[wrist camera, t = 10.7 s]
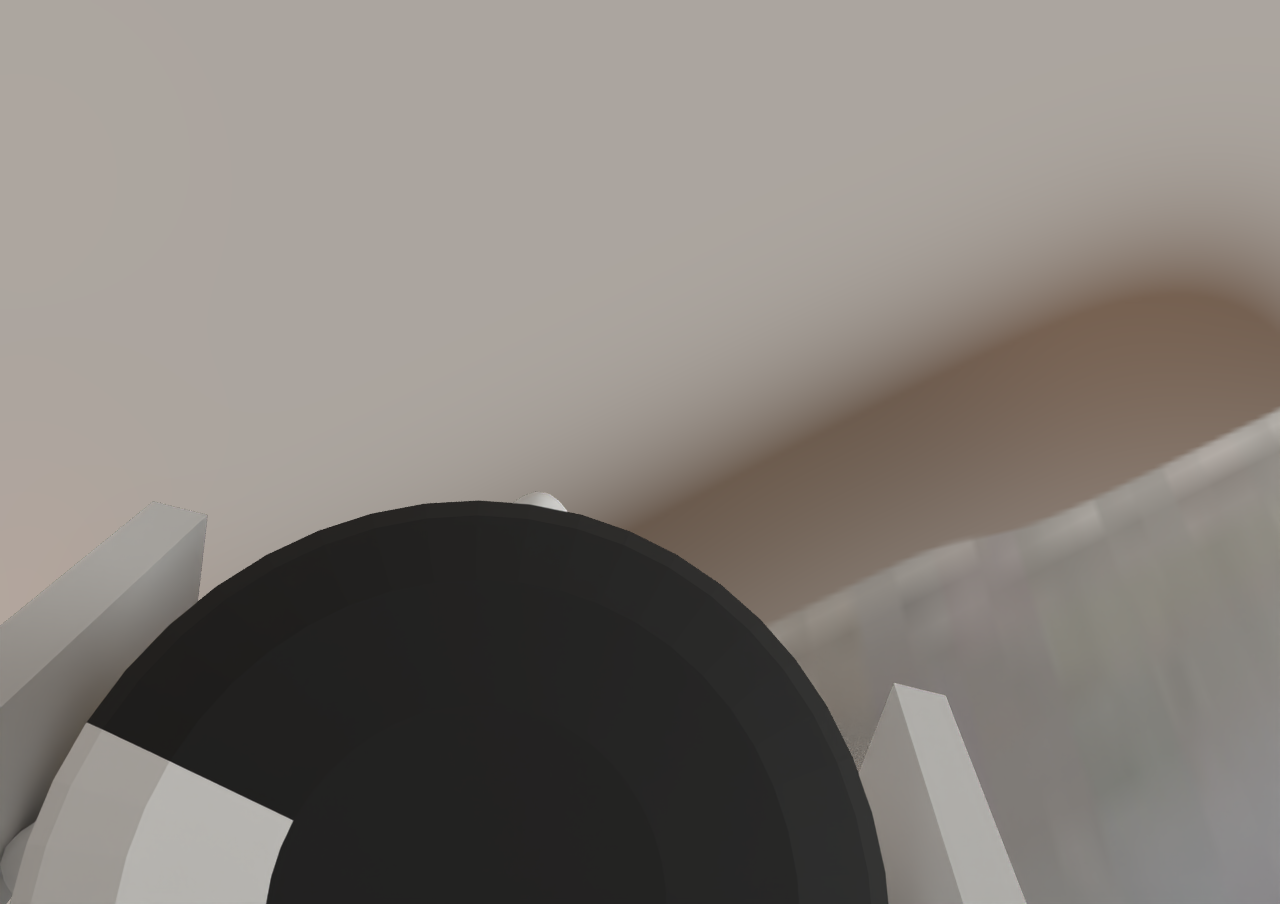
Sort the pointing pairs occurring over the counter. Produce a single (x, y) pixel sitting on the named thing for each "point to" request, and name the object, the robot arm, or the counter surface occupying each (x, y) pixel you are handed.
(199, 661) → the medicine bottle
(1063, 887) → the counter surface
